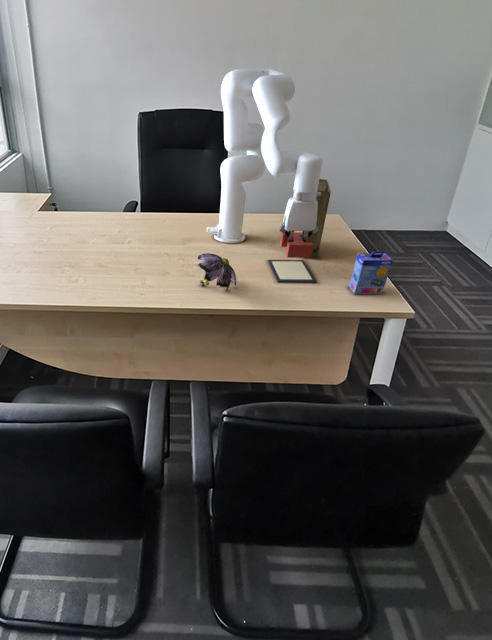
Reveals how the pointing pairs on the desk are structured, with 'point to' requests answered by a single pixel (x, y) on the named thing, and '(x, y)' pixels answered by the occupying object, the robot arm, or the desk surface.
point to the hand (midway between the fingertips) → (295, 248)
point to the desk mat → (291, 271)
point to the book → (320, 215)
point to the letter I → (296, 246)
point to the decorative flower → (216, 270)
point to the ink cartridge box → (370, 273)
